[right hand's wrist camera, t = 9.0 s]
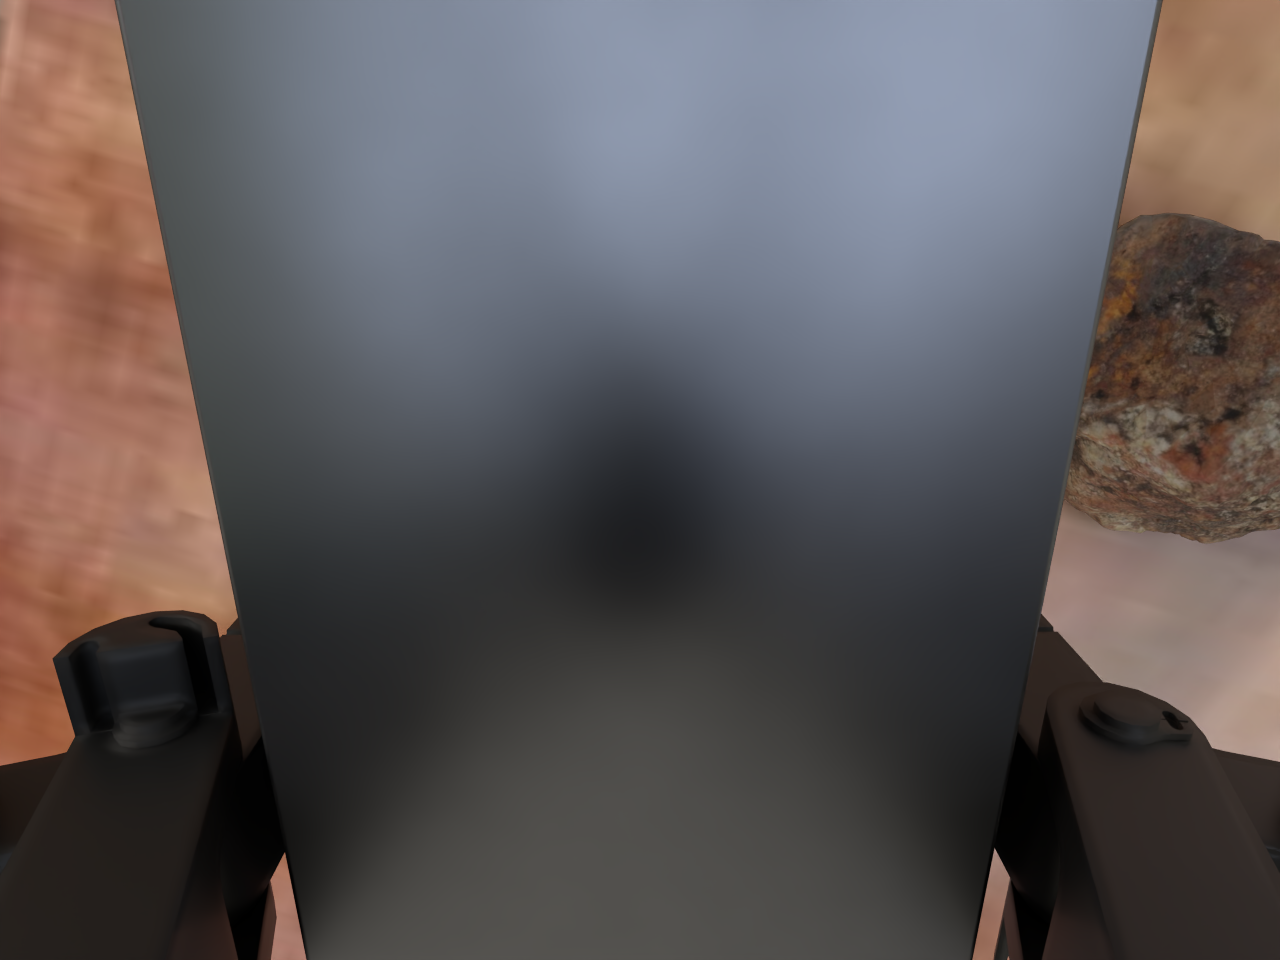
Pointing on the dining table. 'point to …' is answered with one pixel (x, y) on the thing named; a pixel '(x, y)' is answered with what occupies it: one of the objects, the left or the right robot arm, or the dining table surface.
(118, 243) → the dining table surface
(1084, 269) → the bar
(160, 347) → the dining table surface
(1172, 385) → the rock
